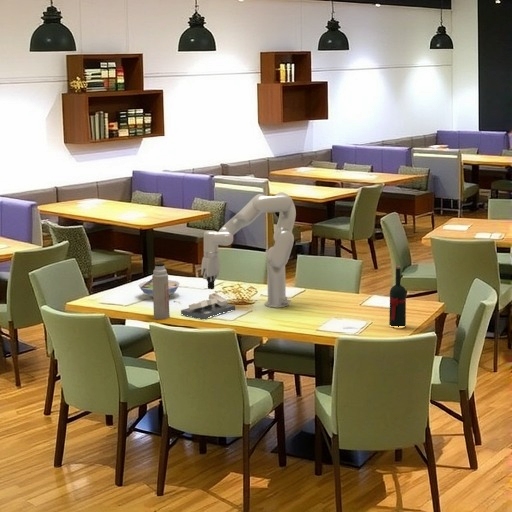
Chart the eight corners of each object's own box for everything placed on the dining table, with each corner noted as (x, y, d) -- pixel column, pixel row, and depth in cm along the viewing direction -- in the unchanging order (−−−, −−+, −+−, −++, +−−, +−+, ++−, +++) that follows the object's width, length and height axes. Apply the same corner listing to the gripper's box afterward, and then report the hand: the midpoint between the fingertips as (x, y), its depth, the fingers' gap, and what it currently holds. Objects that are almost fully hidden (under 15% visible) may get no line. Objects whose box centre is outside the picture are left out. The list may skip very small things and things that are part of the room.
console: (235, 310, 498) (235, 303, 497) (203, 319, 480) (203, 312, 479) (212, 305, 508) (212, 298, 507) (181, 315, 490) (180, 307, 489)
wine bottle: (384, 328, 458) (385, 267, 452) (393, 323, 466) (393, 263, 460) (399, 330, 454) (400, 269, 448) (408, 325, 462) (409, 265, 456)
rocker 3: (226, 304, 498) (227, 300, 497) (220, 306, 495) (221, 301, 494) (214, 297, 503) (215, 292, 502) (208, 298, 500) (209, 294, 499)
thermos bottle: (172, 316, 488) (170, 262, 482) (163, 320, 481) (161, 265, 475) (160, 314, 492) (158, 261, 486) (150, 318, 485) (148, 264, 479)
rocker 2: (217, 302, 491) (216, 297, 491) (211, 304, 488) (210, 299, 488) (205, 305, 497) (204, 300, 497) (199, 306, 494) (198, 302, 494)
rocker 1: (207, 305, 486) (206, 300, 486) (201, 307, 482) (200, 302, 482) (195, 308, 492) (194, 303, 492) (189, 309, 488) (188, 304, 488)
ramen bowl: (171, 303, 514) (170, 288, 513) (132, 301, 520) (131, 286, 518) (186, 292, 538) (186, 278, 536) (148, 291, 544) (148, 277, 542)
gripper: (215, 251, 504) (215, 285, 508) (195, 255, 493) (195, 290, 496) (225, 253, 499) (225, 287, 503) (206, 257, 488) (206, 292, 492)
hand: (211, 288), depth 500 cm, fingers closed
